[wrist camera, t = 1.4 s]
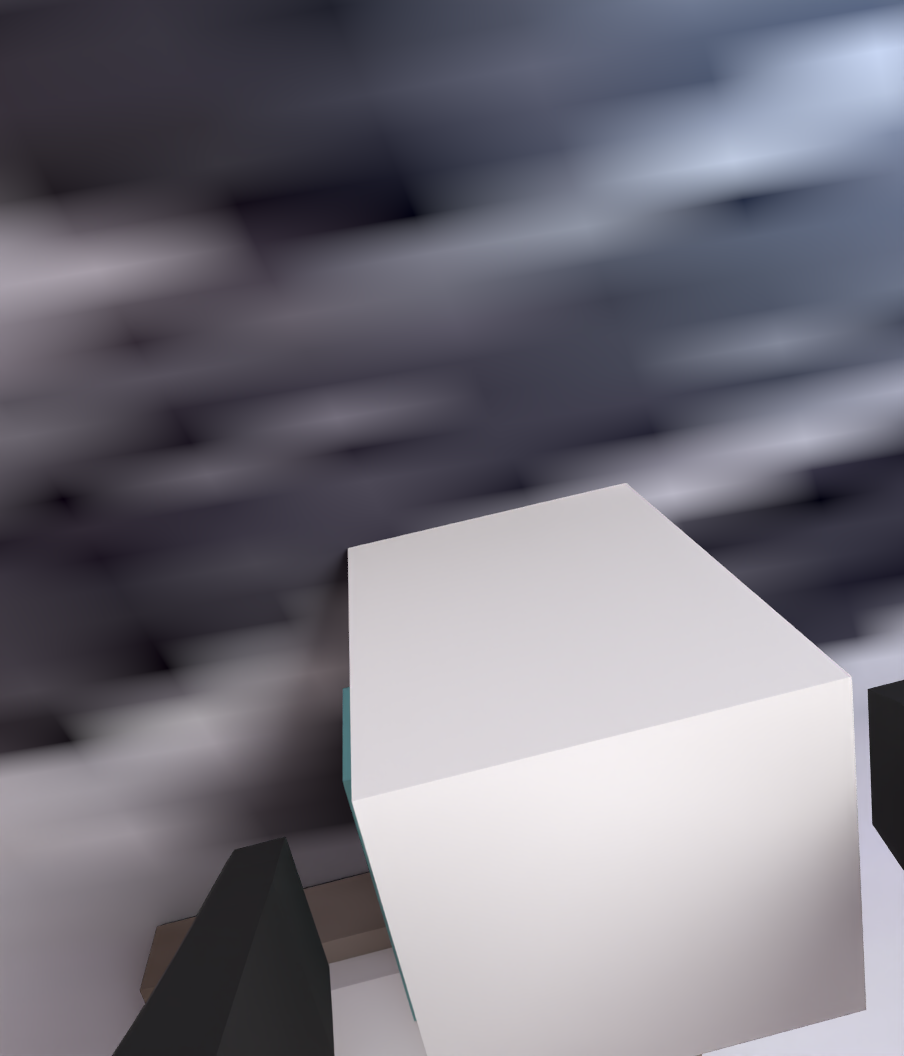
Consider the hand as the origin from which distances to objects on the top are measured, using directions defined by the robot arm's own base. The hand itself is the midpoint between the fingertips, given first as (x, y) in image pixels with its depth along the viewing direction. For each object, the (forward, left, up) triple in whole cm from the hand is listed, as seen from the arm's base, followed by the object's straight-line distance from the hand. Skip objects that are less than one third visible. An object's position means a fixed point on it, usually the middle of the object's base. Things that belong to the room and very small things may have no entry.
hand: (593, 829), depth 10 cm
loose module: (0, 0, -6) cm, 6 cm away
